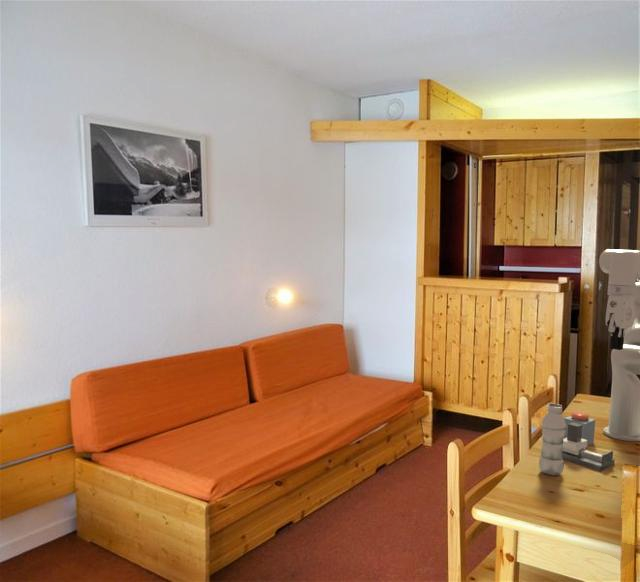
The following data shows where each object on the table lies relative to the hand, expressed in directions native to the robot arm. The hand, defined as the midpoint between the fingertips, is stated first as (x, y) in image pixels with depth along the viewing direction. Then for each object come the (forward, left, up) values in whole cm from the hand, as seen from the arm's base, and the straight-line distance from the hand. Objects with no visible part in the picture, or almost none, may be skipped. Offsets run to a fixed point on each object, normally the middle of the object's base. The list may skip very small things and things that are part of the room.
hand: (616, 349), depth 187 cm
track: (+14, -1, -33) cm, 36 cm away
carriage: (+14, -5, -31) cm, 35 cm away
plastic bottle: (+32, -2, -33) cm, 46 cm away
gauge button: (0, -10, -29) cm, 30 cm away
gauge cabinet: (0, -10, -33) cm, 35 cm away
